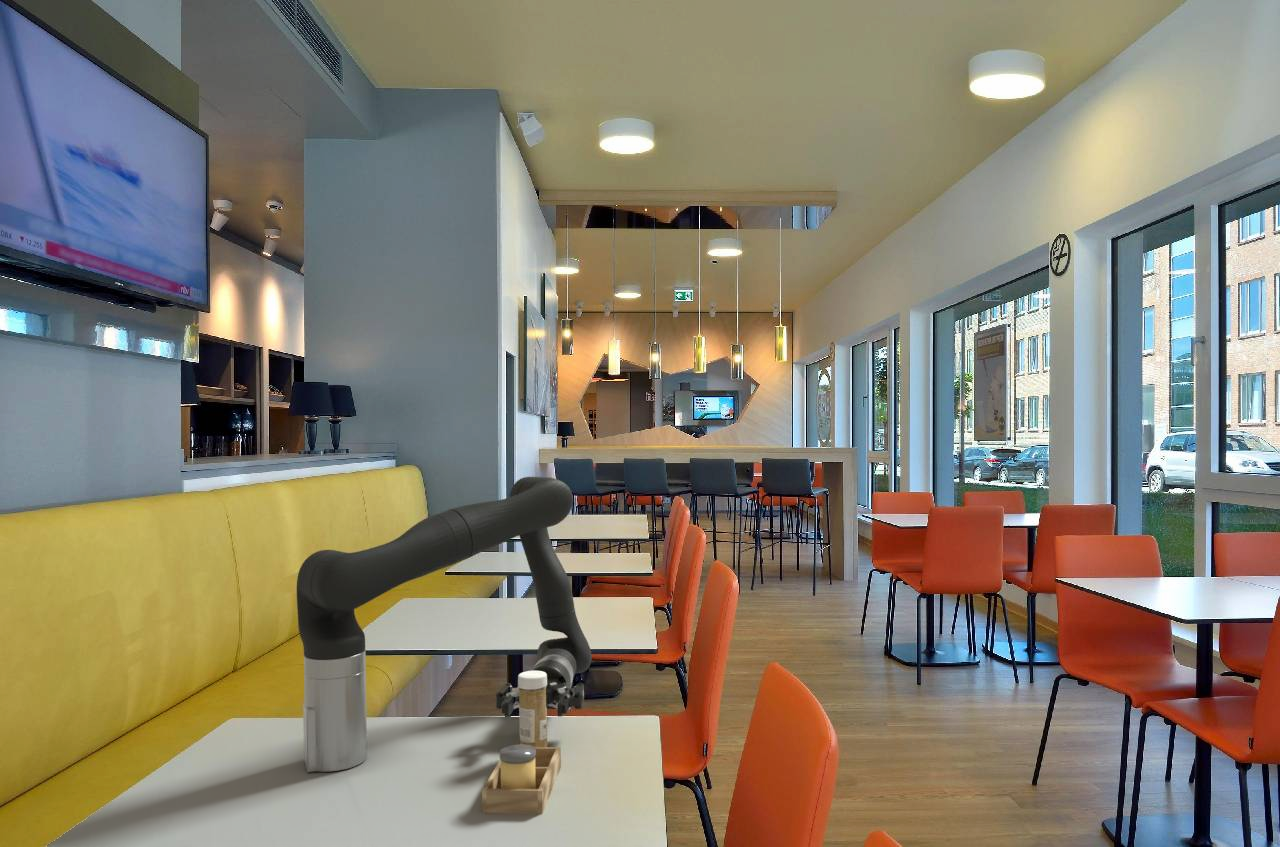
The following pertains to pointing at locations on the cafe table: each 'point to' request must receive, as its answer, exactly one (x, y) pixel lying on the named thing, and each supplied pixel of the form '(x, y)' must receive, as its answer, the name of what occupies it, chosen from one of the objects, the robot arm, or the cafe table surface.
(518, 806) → the caddy
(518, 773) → the honey jar
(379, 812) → the cafe table surface
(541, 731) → the sprinkles bottle
